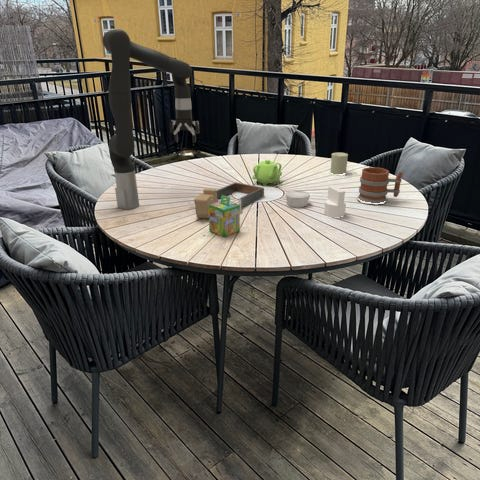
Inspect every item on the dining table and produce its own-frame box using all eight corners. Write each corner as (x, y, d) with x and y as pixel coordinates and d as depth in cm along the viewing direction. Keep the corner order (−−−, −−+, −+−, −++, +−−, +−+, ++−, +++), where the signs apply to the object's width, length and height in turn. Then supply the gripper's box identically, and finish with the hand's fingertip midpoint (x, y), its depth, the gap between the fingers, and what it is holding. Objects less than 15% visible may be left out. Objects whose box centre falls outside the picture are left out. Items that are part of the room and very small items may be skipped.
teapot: (287, 181, 232) (288, 159, 226) (276, 188, 221) (277, 165, 215) (261, 177, 239) (261, 155, 234) (249, 184, 228) (249, 161, 222)
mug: (355, 195, 209) (358, 165, 202) (395, 196, 206) (399, 166, 200) (358, 205, 196) (362, 174, 190) (401, 206, 194) (406, 175, 187)
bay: (240, 213, 189) (240, 203, 187) (199, 203, 201) (198, 194, 199) (269, 197, 208) (270, 188, 206) (230, 189, 220) (230, 181, 218)
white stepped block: (320, 212, 188) (322, 187, 183) (337, 209, 191) (339, 184, 186) (331, 219, 181) (333, 193, 175) (348, 216, 183) (351, 190, 178)
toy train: (218, 208, 196) (217, 187, 191) (207, 221, 181) (206, 199, 176) (207, 207, 197) (206, 186, 193) (195, 220, 182) (193, 198, 178)
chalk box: (208, 231, 171) (207, 196, 165) (225, 224, 177) (224, 191, 171) (224, 237, 165) (223, 202, 159) (240, 231, 171) (240, 196, 165)
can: (326, 173, 246) (328, 152, 240) (339, 171, 249) (341, 150, 244) (336, 177, 238) (338, 156, 233) (349, 174, 241) (351, 154, 236)
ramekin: (310, 201, 202) (311, 191, 200) (307, 209, 192) (308, 198, 190) (287, 199, 205) (288, 189, 203) (283, 207, 195) (283, 196, 193)
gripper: (166, 108, 196) (169, 143, 203) (196, 109, 194) (197, 144, 201) (171, 106, 203) (173, 140, 210) (200, 107, 201) (201, 141, 208)
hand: (185, 142), depth 205 cm, fingers open, 8 cm apart
